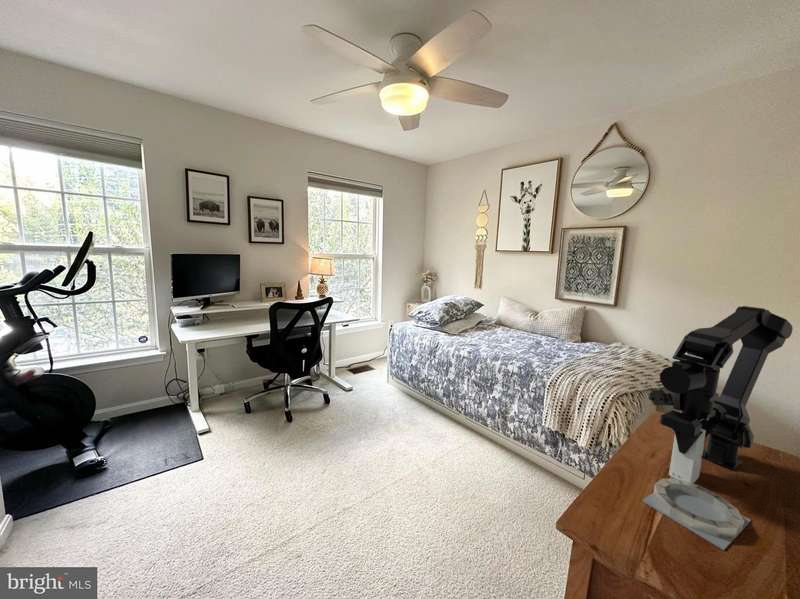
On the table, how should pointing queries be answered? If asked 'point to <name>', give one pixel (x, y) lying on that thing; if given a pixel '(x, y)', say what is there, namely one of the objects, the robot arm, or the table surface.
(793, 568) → the table surface
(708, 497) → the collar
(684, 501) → the grey base plate
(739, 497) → the table surface
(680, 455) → the skincare box
